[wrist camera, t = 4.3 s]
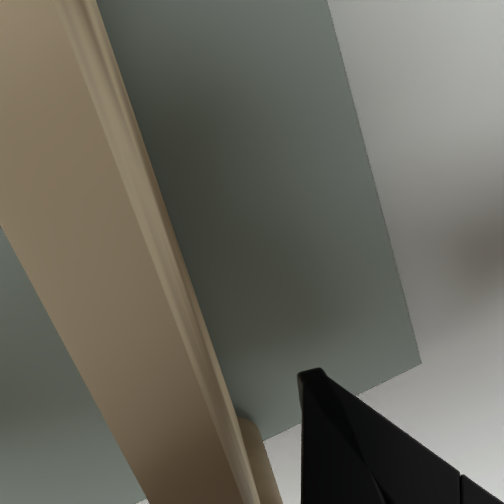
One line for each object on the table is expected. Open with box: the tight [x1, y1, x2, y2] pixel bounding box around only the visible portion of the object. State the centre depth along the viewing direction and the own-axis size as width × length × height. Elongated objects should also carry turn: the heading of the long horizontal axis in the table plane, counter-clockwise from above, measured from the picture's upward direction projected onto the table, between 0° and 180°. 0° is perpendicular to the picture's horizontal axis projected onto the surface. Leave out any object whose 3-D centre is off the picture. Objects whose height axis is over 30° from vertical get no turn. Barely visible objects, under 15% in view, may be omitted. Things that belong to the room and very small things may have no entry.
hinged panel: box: [0, 0, 283, 504], centre depth 8 cm, size 13×2×6 cm, turn 13°
